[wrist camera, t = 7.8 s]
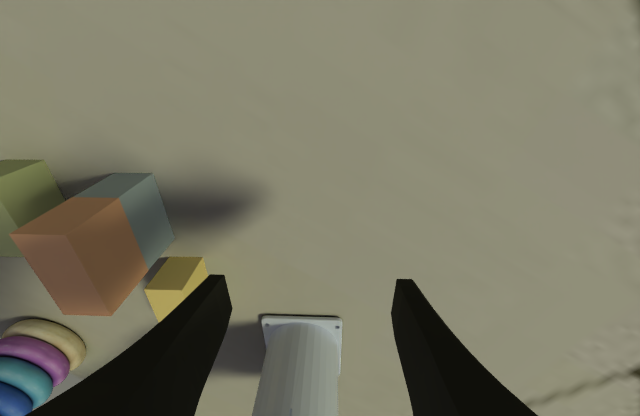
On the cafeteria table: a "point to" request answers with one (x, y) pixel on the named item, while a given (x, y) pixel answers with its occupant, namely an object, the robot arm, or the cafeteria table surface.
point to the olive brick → (24, 198)
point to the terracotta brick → (84, 254)
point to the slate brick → (138, 210)
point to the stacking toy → (35, 363)
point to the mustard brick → (174, 283)
